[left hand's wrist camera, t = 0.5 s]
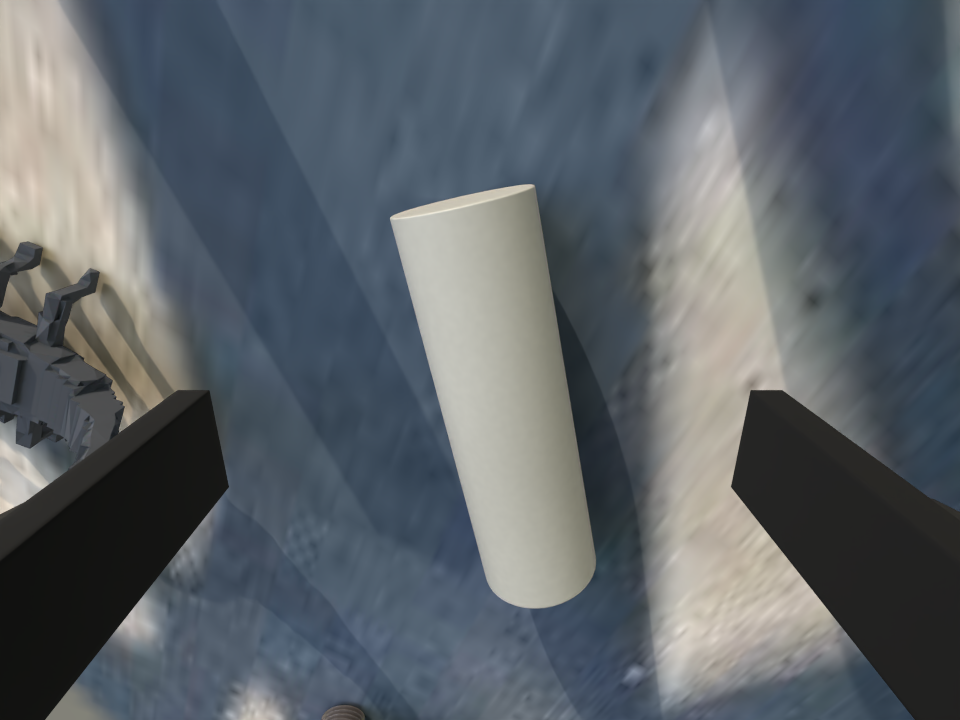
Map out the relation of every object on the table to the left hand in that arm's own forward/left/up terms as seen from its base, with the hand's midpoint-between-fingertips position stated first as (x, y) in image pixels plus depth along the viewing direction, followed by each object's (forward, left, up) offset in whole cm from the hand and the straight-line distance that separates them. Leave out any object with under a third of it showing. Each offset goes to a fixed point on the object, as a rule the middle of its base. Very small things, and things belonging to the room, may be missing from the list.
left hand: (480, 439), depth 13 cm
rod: (+7, +4, -21) cm, 23 cm away
